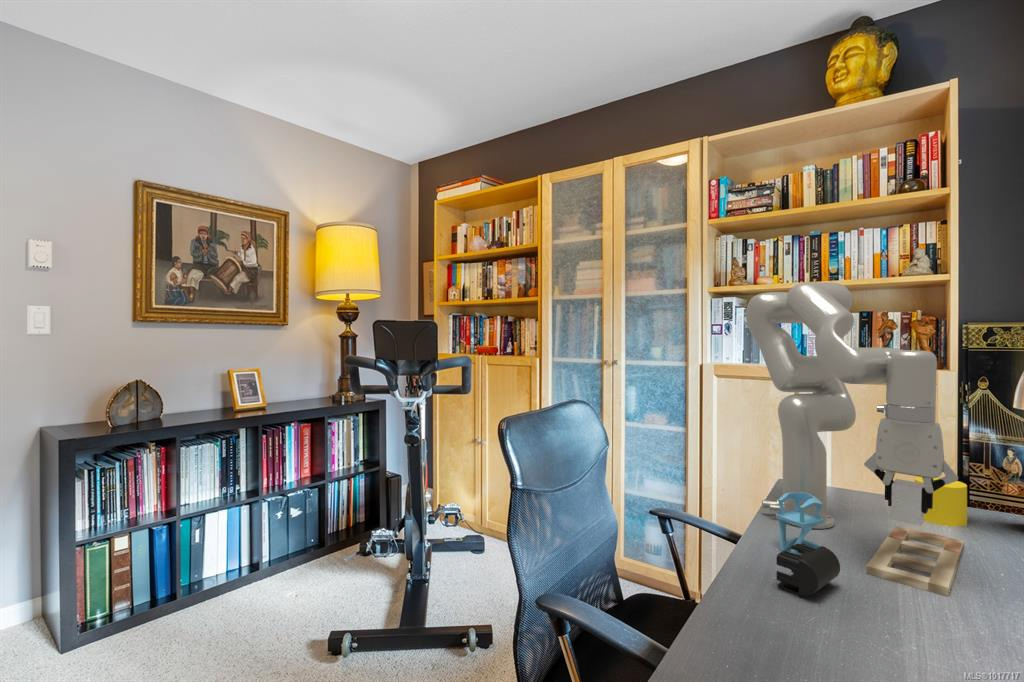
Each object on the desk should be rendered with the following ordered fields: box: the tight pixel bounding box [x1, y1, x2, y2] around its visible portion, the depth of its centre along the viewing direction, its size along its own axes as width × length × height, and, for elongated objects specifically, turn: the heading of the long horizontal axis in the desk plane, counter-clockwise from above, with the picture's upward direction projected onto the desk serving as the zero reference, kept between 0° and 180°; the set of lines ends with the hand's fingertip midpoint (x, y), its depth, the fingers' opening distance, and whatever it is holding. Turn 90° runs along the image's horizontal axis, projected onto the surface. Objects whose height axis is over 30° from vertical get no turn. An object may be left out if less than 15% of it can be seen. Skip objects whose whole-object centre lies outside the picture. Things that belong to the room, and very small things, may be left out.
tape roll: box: [914, 476, 968, 527], centre depth 126 cm, size 10×10×9 cm
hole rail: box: [865, 525, 965, 597], centre depth 103 cm, size 12×30×2 cm, turn 134°
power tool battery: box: [776, 543, 841, 598], centre depth 92 cm, size 10×7×7 cm
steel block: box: [890, 478, 925, 527], centre depth 97 cm, size 4×4×7 cm
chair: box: [775, 492, 824, 554], centre depth 108 cm, size 8×8×12 cm
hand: (908, 507), depth 97 cm, fingers closed on steel block, 4 cm apart
